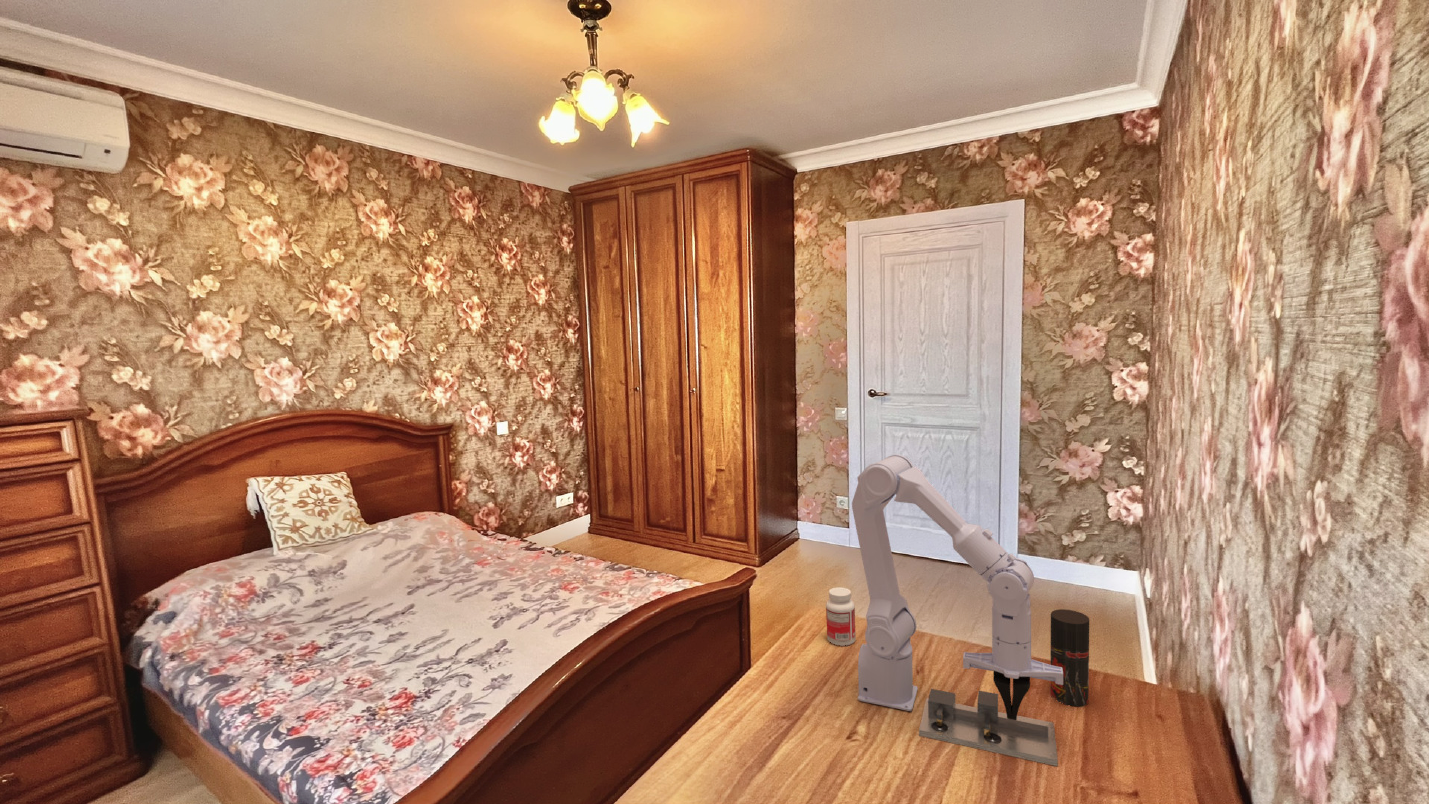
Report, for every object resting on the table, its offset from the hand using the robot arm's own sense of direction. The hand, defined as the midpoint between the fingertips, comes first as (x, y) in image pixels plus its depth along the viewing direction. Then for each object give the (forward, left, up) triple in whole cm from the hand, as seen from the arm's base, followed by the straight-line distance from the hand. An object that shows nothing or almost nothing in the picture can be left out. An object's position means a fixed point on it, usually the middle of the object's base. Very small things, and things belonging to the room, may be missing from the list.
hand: (1011, 716), depth 101 cm
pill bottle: (-34, +22, -3) cm, 40 cm away
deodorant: (+9, +15, -3) cm, 18 cm away
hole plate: (-4, -1, -3) cm, 5 cm away
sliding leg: (-4, -1, -2) cm, 4 cm away
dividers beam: (-4, -1, -2) cm, 4 cm away
